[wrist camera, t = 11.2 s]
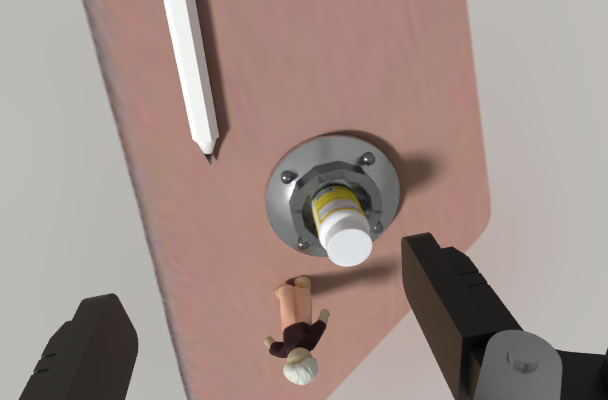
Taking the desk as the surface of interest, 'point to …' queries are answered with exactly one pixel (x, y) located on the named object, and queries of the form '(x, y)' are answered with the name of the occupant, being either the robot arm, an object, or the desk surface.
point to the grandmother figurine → (298, 331)
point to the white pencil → (193, 72)
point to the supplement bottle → (341, 224)
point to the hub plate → (326, 169)
